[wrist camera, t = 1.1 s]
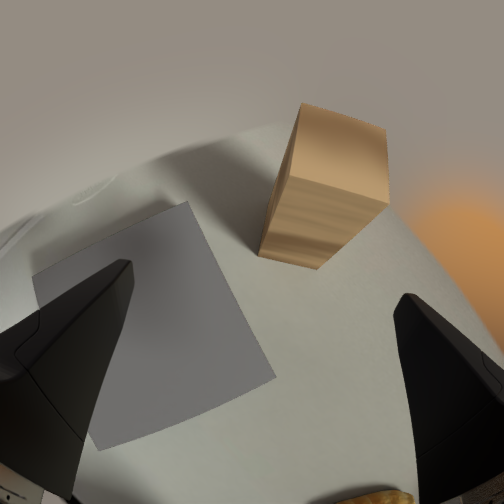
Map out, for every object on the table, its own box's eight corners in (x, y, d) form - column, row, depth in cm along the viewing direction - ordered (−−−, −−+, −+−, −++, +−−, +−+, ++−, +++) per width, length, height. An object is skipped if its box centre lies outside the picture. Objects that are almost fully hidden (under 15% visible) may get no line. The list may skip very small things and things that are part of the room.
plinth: (269, 373, 22) (276, 377, 19) (111, 440, 18) (98, 450, 16) (190, 217, 25) (187, 200, 22) (49, 285, 22) (31, 276, 19)
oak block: (316, 269, 25) (389, 203, 13) (257, 256, 24) (289, 174, 13) (323, 216, 26) (385, 129, 15) (268, 202, 26) (301, 102, 15)
